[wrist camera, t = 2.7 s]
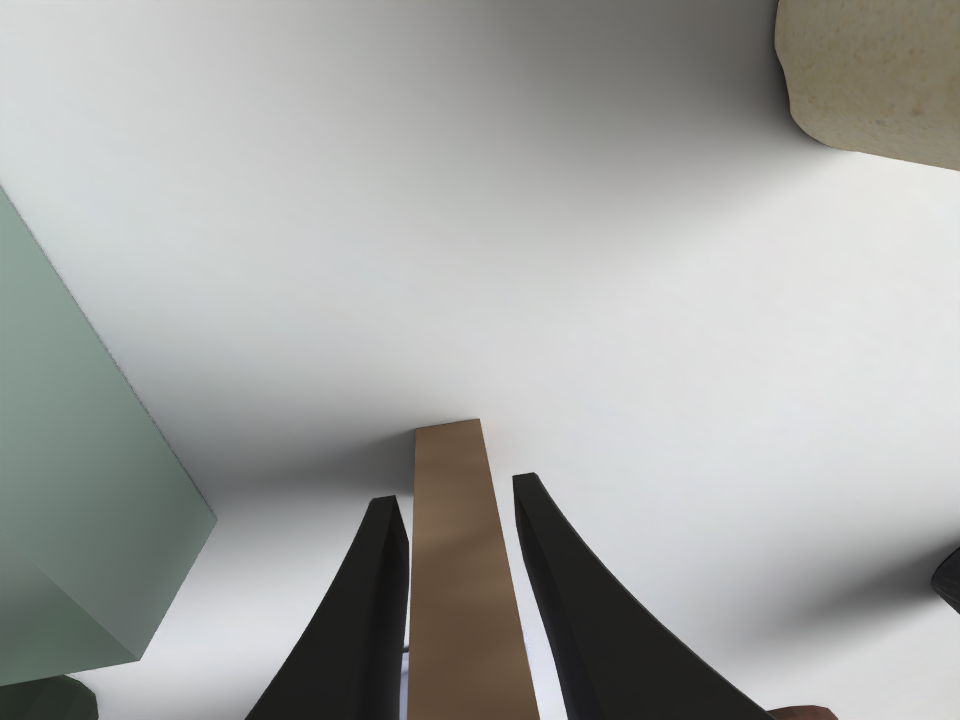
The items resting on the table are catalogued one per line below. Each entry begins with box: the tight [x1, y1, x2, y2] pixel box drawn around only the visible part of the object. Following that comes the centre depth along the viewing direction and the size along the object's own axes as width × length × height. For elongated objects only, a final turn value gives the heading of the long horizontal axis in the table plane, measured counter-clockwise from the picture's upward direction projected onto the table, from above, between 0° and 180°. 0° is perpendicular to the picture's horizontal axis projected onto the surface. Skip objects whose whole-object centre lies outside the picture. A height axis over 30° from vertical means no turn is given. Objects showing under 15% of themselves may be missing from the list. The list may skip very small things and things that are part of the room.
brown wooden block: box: [407, 419, 540, 720], centre depth 9 cm, size 2×3×8 cm, turn 5°
